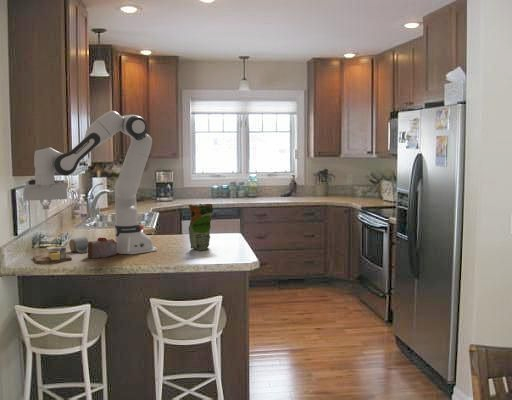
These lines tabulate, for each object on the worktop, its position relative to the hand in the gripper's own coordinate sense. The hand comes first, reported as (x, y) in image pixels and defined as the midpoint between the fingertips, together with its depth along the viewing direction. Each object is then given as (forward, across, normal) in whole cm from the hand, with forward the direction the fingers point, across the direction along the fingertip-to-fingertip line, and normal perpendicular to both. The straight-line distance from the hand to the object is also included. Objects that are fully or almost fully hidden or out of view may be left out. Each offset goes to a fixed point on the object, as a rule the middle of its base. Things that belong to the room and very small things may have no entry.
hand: (45, 209), depth 270 cm
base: (+25, -2, -1) cm, 25 cm away
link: (+24, -2, +2) cm, 24 cm away
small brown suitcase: (+25, -26, +2) cm, 36 cm away
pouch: (+25, -77, +5) cm, 81 cm away
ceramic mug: (+25, -17, -16) cm, 35 cm away
